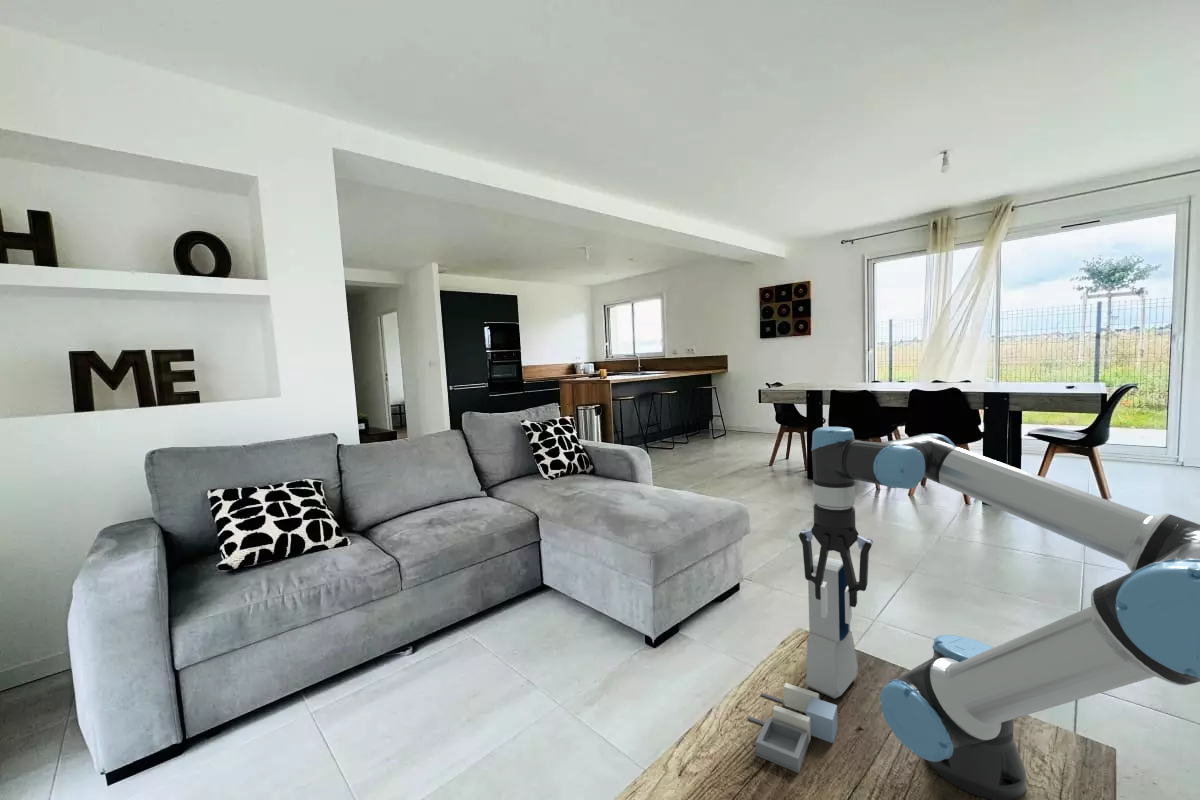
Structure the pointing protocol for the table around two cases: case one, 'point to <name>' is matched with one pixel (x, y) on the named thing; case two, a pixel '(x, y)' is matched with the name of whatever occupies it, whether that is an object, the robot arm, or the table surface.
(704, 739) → the table surface
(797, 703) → the channel
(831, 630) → the electronic device
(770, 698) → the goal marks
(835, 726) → the block
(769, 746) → the tray
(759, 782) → the table surface
